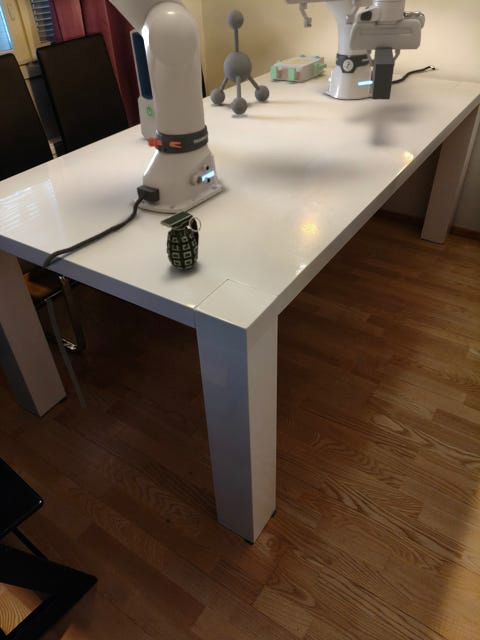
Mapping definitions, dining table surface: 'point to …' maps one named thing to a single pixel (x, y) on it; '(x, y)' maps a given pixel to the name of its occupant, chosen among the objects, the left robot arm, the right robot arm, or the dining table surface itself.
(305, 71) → the grey green flat case
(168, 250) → the grenade
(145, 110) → the electronic device
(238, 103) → the molecular model
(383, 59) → the bar
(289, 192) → the dining table surface
